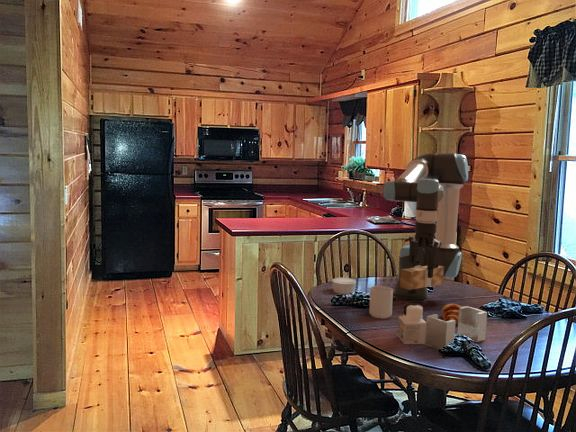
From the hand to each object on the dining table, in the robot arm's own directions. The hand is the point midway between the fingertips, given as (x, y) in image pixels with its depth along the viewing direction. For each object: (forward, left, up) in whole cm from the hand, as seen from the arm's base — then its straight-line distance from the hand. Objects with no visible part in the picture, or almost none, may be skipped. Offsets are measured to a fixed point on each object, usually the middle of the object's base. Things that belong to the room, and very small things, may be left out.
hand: (422, 284), depth 198 cm
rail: (0, 0, 0) cm, 0 cm away
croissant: (-21, -1, -18) cm, 28 cm away
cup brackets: (0, +16, -17) cm, 23 cm away
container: (+11, +6, -17) cm, 22 cm away
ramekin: (-10, -54, -17) cm, 58 cm away
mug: (0, -20, -17) cm, 27 cm away
